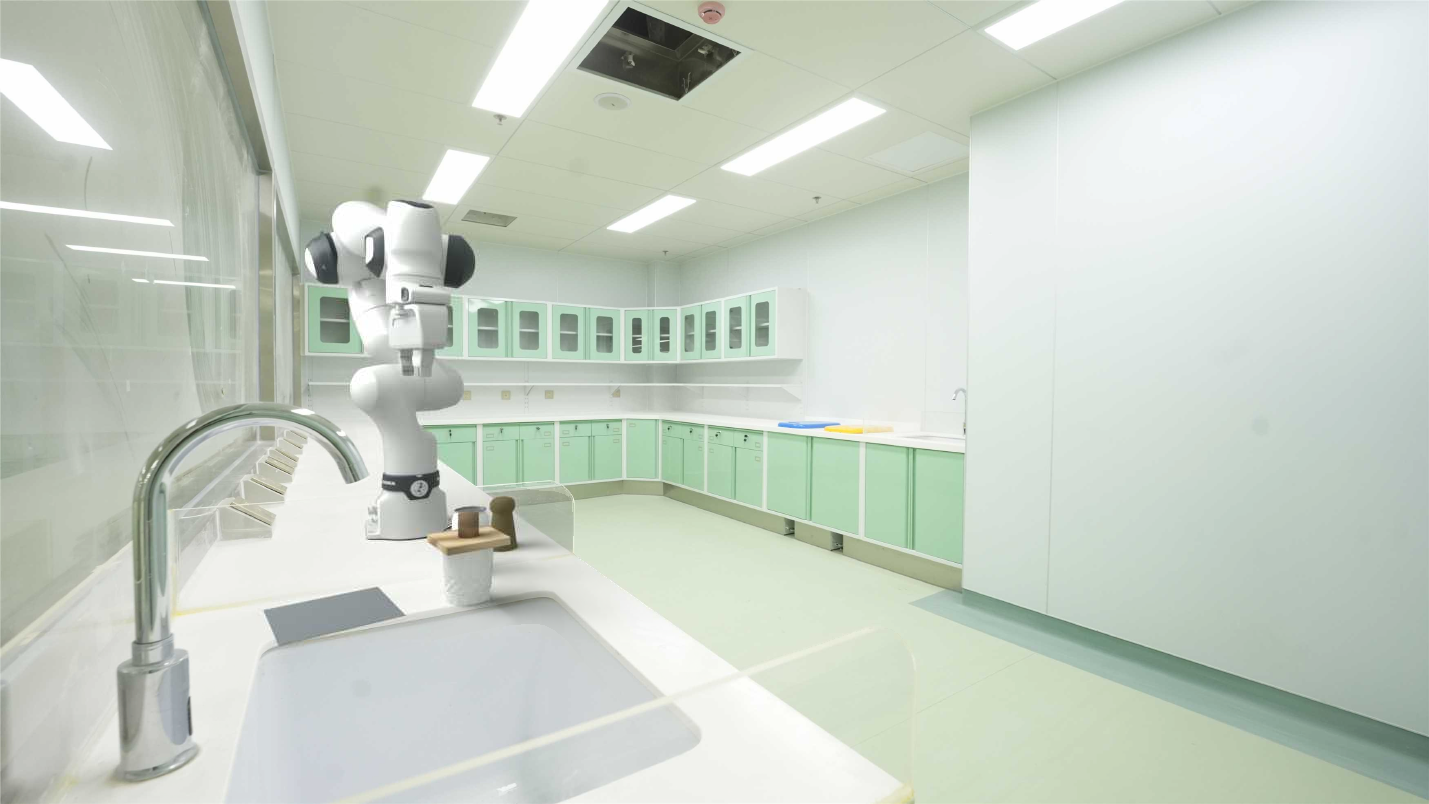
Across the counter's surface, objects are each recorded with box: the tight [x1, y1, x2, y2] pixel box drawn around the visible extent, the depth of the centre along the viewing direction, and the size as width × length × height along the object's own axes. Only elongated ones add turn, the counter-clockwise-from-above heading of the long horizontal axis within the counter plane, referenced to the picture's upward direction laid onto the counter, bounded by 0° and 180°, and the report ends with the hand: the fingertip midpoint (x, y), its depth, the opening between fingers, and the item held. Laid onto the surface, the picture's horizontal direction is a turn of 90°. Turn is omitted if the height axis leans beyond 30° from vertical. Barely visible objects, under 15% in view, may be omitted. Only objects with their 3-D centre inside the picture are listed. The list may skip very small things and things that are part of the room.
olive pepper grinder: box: [489, 495, 518, 553], centre depth 132 cm, size 6×6×11 cm
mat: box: [263, 586, 406, 647], centre depth 95 cm, size 16×16×1 cm
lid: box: [426, 512, 510, 556], centre depth 102 cm, size 10×10×5 cm
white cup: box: [442, 548, 494, 607], centre depth 102 cm, size 8×8×10 cm
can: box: [451, 505, 490, 530], centre depth 117 cm, size 6×6×12 cm
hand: (416, 376), depth 107 cm, fingers open, 8 cm apart
